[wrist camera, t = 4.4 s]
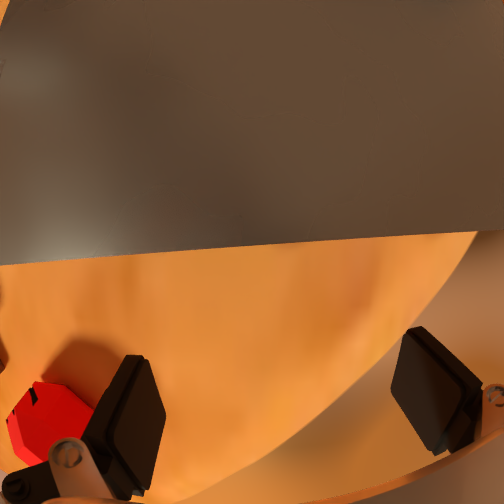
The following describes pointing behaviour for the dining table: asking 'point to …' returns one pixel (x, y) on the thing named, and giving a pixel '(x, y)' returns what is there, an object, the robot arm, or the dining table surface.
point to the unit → (246, 123)
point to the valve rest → (1, 367)
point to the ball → (45, 420)
